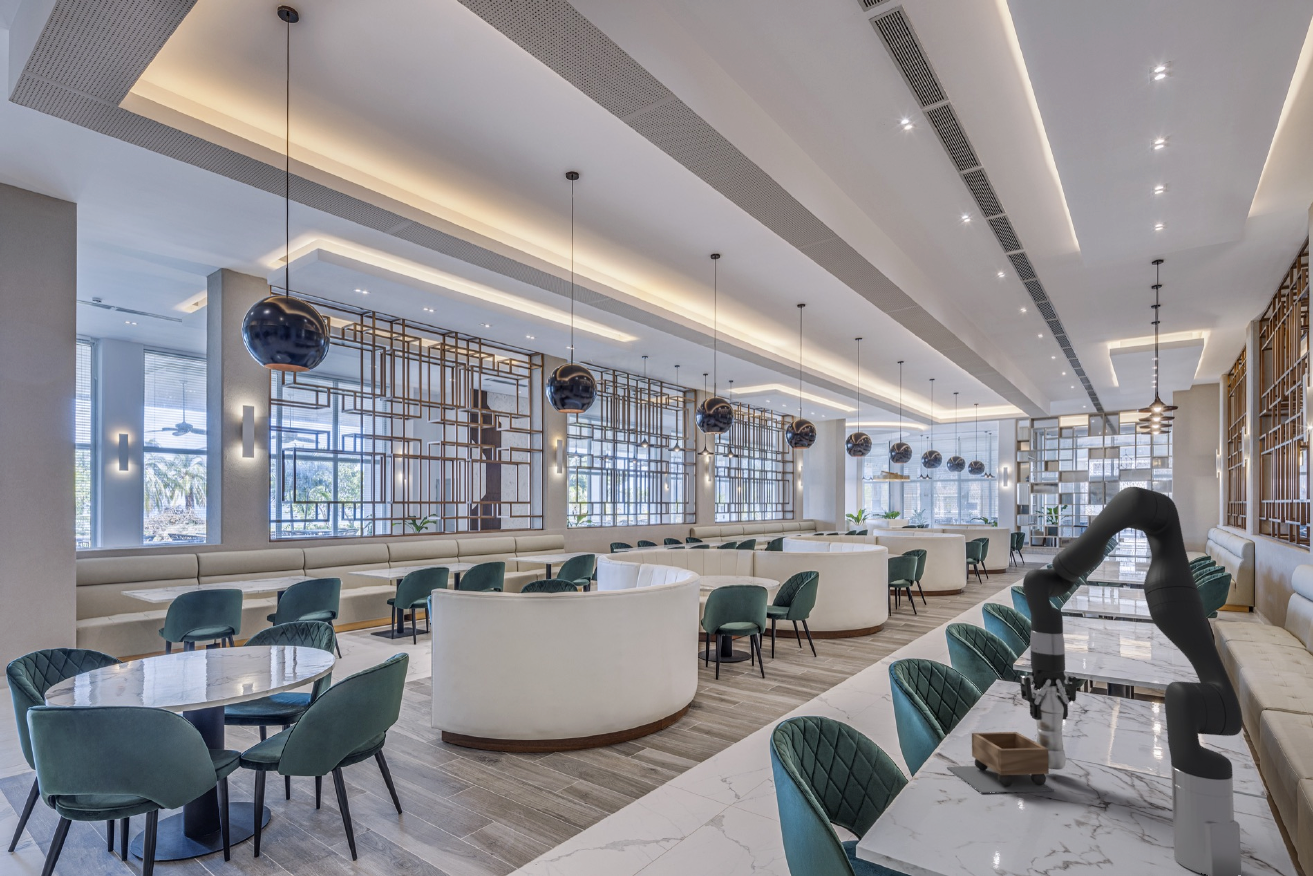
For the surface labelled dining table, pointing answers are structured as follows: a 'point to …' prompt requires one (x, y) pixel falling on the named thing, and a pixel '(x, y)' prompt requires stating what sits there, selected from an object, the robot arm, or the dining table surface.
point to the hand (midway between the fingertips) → (1049, 718)
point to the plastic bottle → (1051, 728)
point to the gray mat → (996, 781)
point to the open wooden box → (1010, 756)
